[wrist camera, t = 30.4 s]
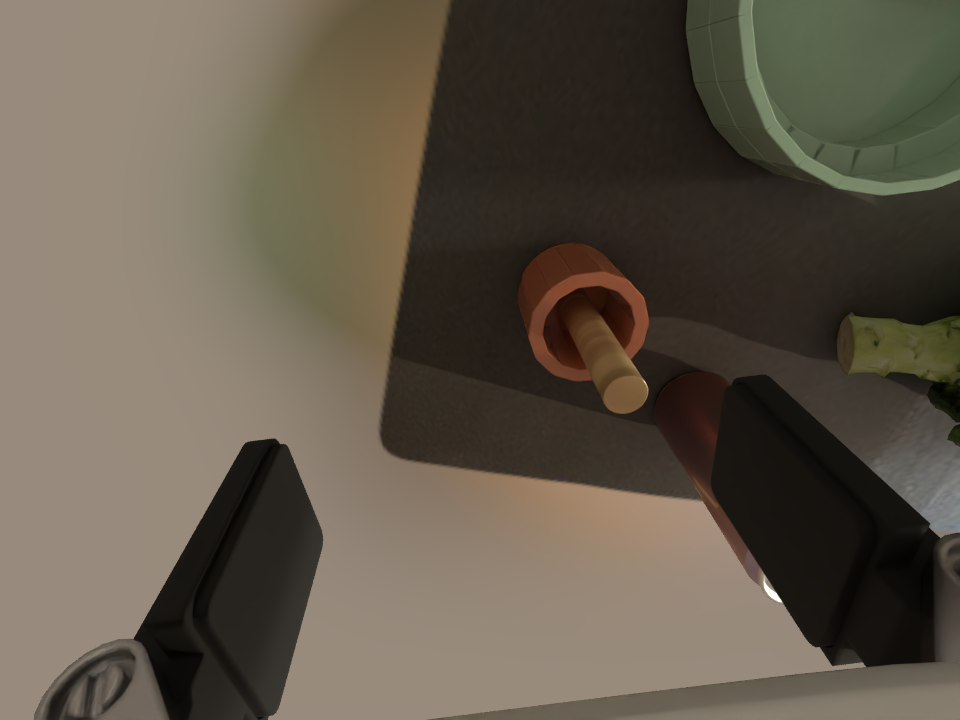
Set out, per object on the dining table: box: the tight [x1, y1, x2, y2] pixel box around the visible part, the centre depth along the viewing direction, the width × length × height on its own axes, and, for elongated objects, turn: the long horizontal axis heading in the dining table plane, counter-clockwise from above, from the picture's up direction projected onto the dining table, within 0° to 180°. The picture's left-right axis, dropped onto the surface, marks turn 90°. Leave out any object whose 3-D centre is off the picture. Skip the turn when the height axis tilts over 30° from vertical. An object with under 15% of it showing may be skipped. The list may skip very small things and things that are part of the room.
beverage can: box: [654, 372, 784, 605], centre depth 30 cm, size 6×6×15 cm
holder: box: [518, 243, 649, 382], centre depth 30 cm, size 7×7×6 cm
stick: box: [556, 288, 648, 414], centre depth 27 cm, size 2×2×12 cm
